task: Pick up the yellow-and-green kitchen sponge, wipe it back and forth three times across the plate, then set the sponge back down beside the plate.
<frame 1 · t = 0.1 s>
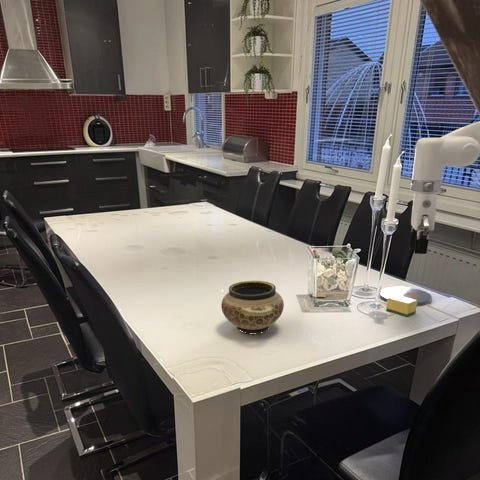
hand: (417, 249, 132), 22 cm above the table, tool pointing down, fingers open, 9 cm apart
plate: (405, 297, 161), on the table
sponge: (400, 311, 149), on the table
ceramic bowl: (252, 329, 138), on the table
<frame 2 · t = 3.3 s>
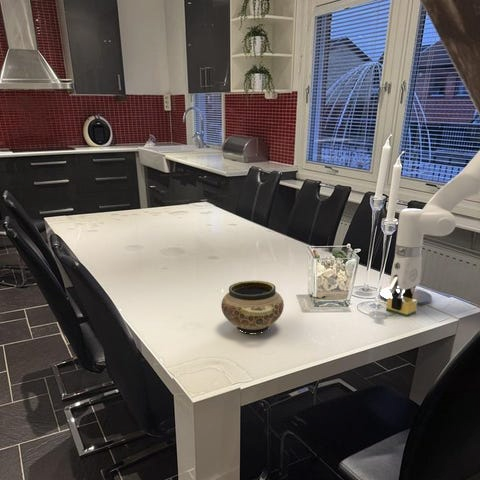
hand: (401, 306, 148), 2 cm above the table, tool pointing down, fingers closed on sponge, 5 cm apart
sponge: (400, 311, 149), on the table, touching gripper
everything else where it was.
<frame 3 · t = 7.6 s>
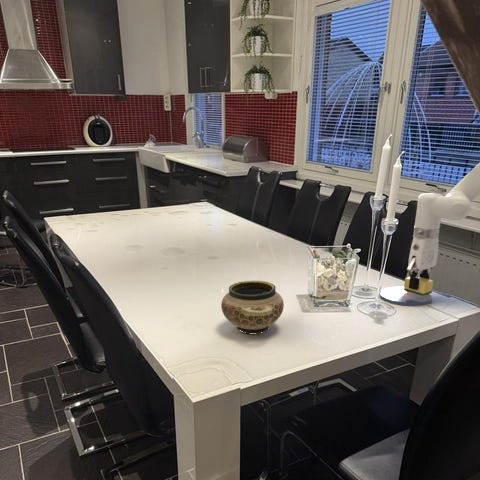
hand: (418, 286, 156), 5 cm above the table, tool pointing down, fingers closed on sponge, 5 cm apart
sponge: (417, 291, 157), point 3 cm above the table, touching gripper
everything else where it was.
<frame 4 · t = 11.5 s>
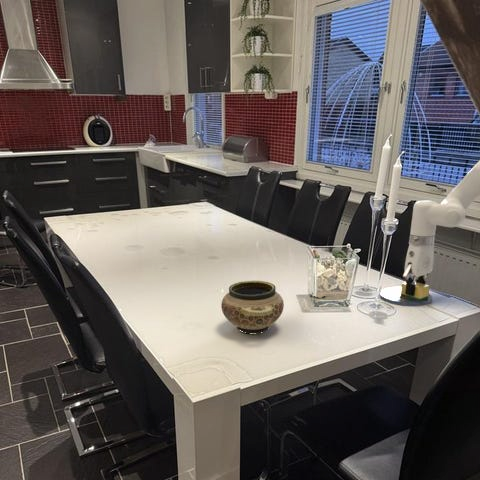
hand: (414, 292, 158), 3 cm above the table, tool pointing down, fingers closed on sponge, 5 cm apart
sponge: (414, 296, 158), point 1 cm above the table, touching gripper
everything else where it was.
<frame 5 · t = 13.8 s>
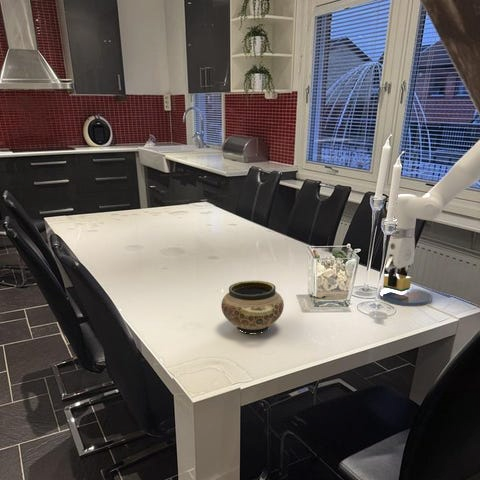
hand: (396, 284, 163), 4 cm above the table, tool pointing down, fingers closed on sponge, 5 cm apart
sponge: (396, 288, 163), point 2 cm above the table, touching gripper
everything else where it was.
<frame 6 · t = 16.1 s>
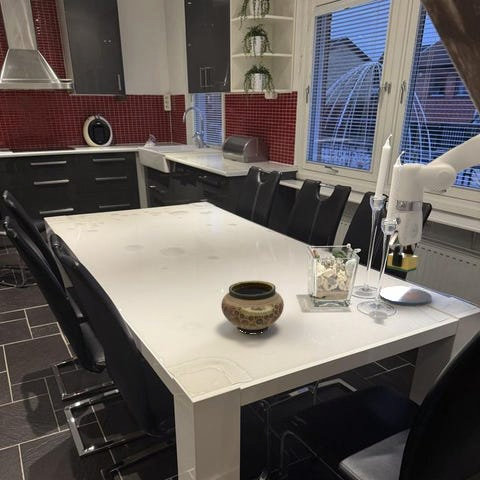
hand: (402, 264, 148), 14 cm above the table, tool pointing down, fingers closed on sponge, 5 cm apart
sponge: (401, 268, 148), point 13 cm above the table, touching gripper
everything else where it was.
when the fingers open (1 cm above the table, at t = 20.0 s): sponge stays where it is, on the table.
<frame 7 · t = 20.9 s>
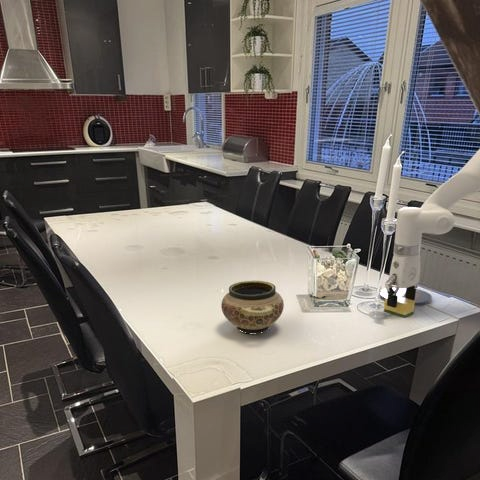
hand: (400, 302, 147), 3 cm above the table, tool pointing down, fingers open, 9 cm apart
sponge: (398, 312, 148), on the table
everything else where it was.
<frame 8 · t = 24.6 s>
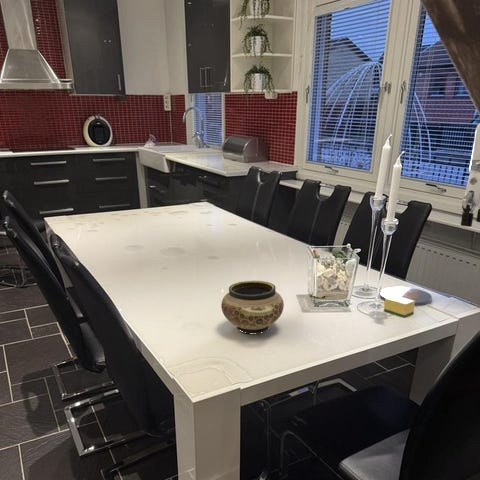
hand: (473, 224, 146), 26 cm above the table, tool pointing down, fingers open, 9 cm apart
nothing on the table moved.
at the end: sponge inside the target area (0.1 cm from its centre), on the table; sponge tilted 0°; the gripper is holding nothing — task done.
